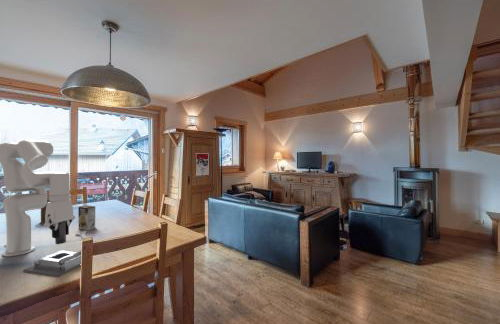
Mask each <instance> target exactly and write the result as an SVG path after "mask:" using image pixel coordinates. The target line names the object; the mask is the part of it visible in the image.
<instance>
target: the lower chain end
mask: <svg viewBox="0 0 500 324" xmlns="http://www.w3.org/2000/svg"><path fill="white" fill-rule="evenodd" d="M61 258H63V257H60V258H57V259H61ZM33 265H34V267H38V268H45V269H53V270H61V266H55V265H47V264H40V263H39V259H37V260H35V261H34V262H33Z"/></svg>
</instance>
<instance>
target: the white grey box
mask: <svg viewBox="0 0 500 324" xmlns="http://www.w3.org/2000/svg"><path fill="white" fill-rule="evenodd" d="M81 251H82V250H79V251H77V252H76V251H69V250H59V251H57V252H56V251H55V252H54V253H51V254H48V255H46V256H44V257H41V258H39V259H38V260H39V263H40V264H47V265H55V266H61V271H67V270H69V269H71V268H73V267H75V266H77V265H79V264H81ZM60 257H63V258H61V259H57V258H60Z"/></svg>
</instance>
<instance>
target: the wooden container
mask: <svg viewBox="0 0 500 324" xmlns="http://www.w3.org/2000/svg"><path fill="white" fill-rule="evenodd" d="M48 202H50V201H49V197H47V203H48ZM46 207H47V204H46V206H45V207H43V208H40V223H41V224H45V213H46Z"/></svg>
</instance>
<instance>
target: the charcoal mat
mask: <svg viewBox="0 0 500 324" xmlns="http://www.w3.org/2000/svg"><path fill="white" fill-rule="evenodd" d="M78 267H81V266H80V264H79V265H77V266H75V267H73V268H71V269H69V270H67V271H61V270H53V269H45V268H38V267H34V264H33V265H30V266H29V267H26V268H24V269H22V272H23V273H29V274H37V275H42V276H50V277H58V278H59V277H61V276H63V275H65V274H67V273H69V272H71V271H73V270H75V269H77V268H78Z"/></svg>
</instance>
